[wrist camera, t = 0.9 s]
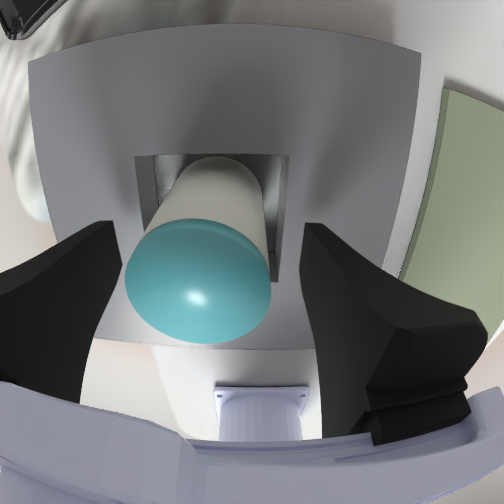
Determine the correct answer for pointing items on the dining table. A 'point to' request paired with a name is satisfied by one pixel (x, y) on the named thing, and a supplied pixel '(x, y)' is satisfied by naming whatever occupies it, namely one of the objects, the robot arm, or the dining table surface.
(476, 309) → the mat
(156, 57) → the housing
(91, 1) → the dining table surface
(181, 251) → the cylinder
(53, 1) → the phone
